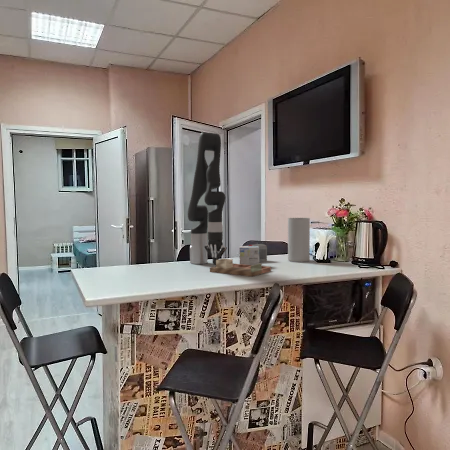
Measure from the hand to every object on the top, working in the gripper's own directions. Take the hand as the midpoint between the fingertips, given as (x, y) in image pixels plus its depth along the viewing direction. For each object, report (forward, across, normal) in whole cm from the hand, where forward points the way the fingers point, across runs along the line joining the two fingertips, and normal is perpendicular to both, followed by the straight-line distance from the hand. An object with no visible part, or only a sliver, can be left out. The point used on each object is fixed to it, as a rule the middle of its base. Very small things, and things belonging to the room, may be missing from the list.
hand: (215, 264), depth 203 cm
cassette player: (+4, +1, +37) cm, 37 cm away
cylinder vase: (+3, +22, +53) cm, 57 cm away
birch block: (+1, +5, 0) cm, 5 cm away
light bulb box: (+3, +7, +22) cm, 23 cm away
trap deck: (+3, +12, +5) cm, 13 cm away
